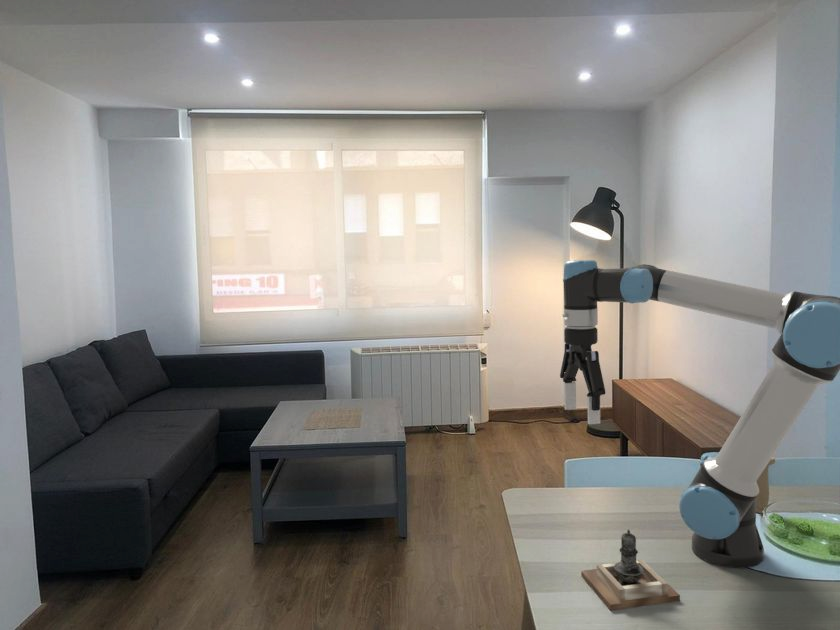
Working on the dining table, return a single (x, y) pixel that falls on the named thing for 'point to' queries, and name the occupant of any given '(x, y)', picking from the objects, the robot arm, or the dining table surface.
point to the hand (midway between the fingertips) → (581, 416)
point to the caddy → (629, 588)
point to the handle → (763, 488)
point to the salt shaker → (628, 561)
